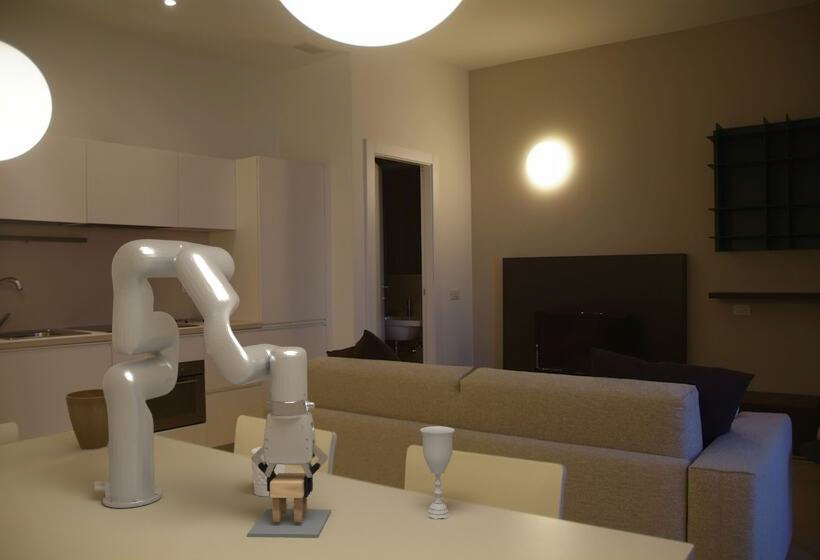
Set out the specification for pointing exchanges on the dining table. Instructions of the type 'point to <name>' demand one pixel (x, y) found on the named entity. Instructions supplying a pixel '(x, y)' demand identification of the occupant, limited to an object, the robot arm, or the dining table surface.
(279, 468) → the white cup
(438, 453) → the chalice
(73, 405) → the plant pot
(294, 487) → the stool
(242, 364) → the robot arm
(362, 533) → the dining table surface
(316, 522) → the mat
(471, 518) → the dining table surface
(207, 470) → the dining table surface
